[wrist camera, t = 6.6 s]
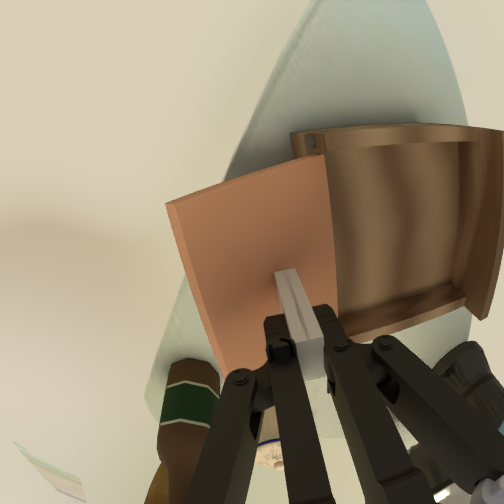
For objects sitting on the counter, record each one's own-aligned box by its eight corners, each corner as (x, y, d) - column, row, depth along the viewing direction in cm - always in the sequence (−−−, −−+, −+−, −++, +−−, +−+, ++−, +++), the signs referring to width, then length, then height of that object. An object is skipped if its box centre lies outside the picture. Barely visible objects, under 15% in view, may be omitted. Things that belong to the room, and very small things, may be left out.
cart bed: (419, 122, 27) (509, 131, 14) (421, 260, 34) (487, 317, 21) (284, 134, 27) (330, 134, 14) (306, 289, 34) (344, 373, 21)
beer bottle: (216, 355, 37) (215, 528, 15) (223, 390, 40) (227, 538, 18) (161, 357, 37) (131, 519, 15) (174, 392, 40) (158, 534, 18)
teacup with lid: (238, 421, 44) (241, 477, 33) (256, 392, 41) (264, 455, 30) (298, 427, 46) (310, 478, 36) (322, 400, 43) (339, 455, 33)
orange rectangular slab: (323, 154, 19) (174, 204, 12) (338, 321, 25) (242, 409, 18) (304, 154, 21) (158, 202, 14) (322, 315, 27) (226, 397, 20)
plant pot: (224, 467, 52) (226, 525, 38) (163, 466, 52) (157, 521, 37) (212, 439, 46) (213, 510, 32) (141, 437, 46) (129, 503, 31)
